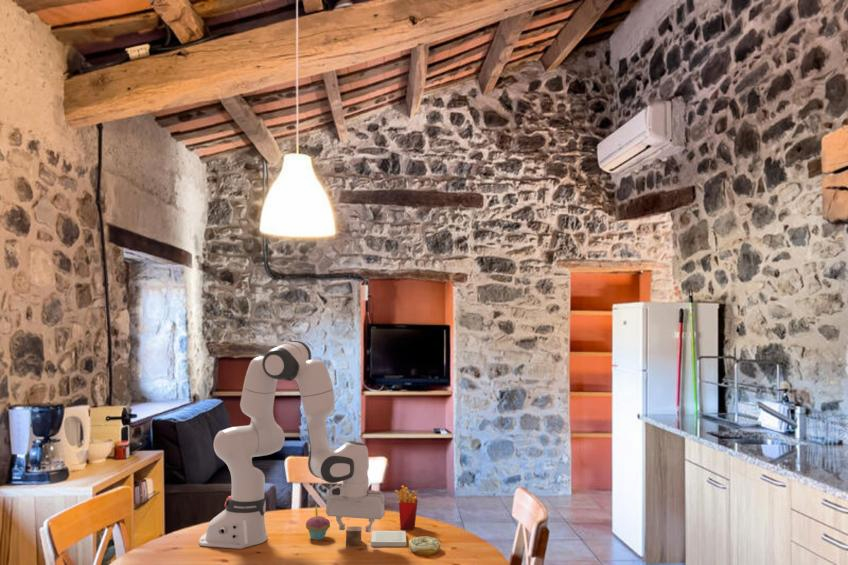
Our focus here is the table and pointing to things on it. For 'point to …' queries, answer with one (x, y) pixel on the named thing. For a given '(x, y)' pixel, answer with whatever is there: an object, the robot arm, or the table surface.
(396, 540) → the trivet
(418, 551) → the decorated donut
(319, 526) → the cupcake
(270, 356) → the robot arm
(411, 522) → the french fries
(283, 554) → the table surface
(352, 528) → the walnut cube
